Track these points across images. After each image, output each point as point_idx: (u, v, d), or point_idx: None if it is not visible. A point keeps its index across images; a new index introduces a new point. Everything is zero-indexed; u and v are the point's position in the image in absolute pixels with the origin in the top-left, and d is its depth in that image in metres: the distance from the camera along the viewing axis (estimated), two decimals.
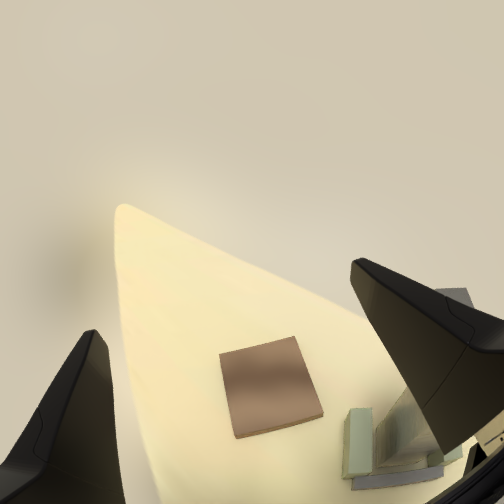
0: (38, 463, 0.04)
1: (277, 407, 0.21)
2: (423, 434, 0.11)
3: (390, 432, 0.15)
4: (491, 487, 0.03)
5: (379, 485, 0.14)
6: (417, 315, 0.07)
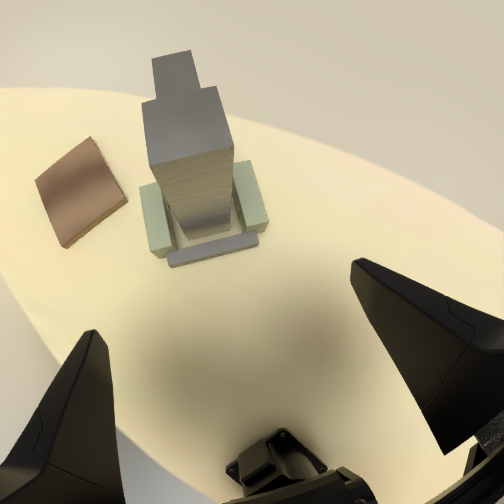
0: (38, 463, 0.04)
1: (86, 206, 0.22)
2: (171, 198, 0.15)
3: None
4: (491, 487, 0.03)
5: (191, 258, 0.22)
6: (417, 315, 0.07)
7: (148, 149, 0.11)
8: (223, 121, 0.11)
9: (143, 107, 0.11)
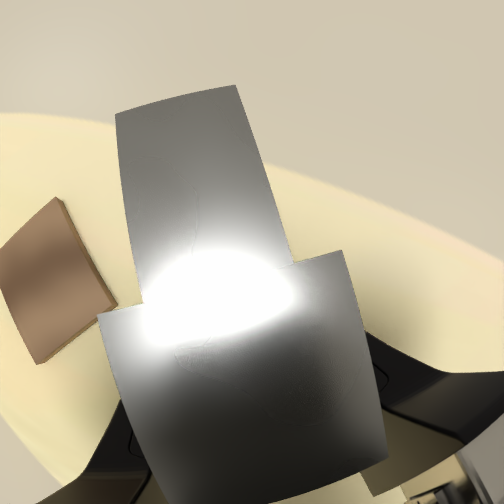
0: (140, 463, 0.04)
1: (59, 312, 0.14)
2: None
3: None
4: None
5: None
6: None
7: (162, 485, 0.03)
8: (369, 395, 0.04)
9: (106, 335, 0.03)
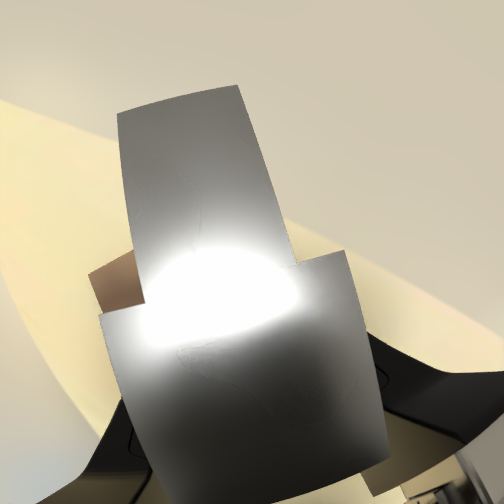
0: (140, 464, 0.04)
1: None
2: None
3: None
4: None
5: None
6: None
7: (164, 485, 0.03)
8: (371, 395, 0.04)
9: (108, 335, 0.03)
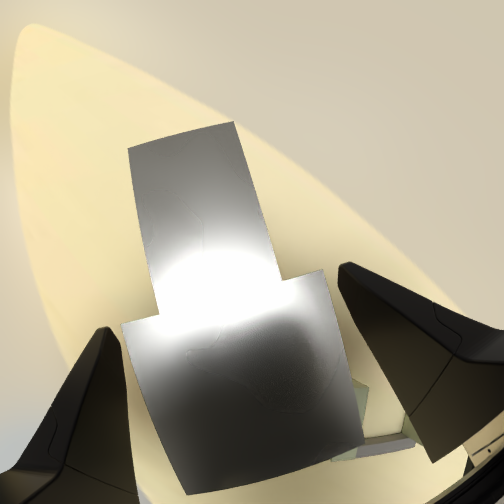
0: (53, 464, 0.04)
1: None
2: None
3: None
4: (491, 487, 0.03)
5: (356, 456, 0.16)
6: (402, 322, 0.07)
7: (174, 465, 0.04)
8: (346, 389, 0.05)
9: (129, 340, 0.04)
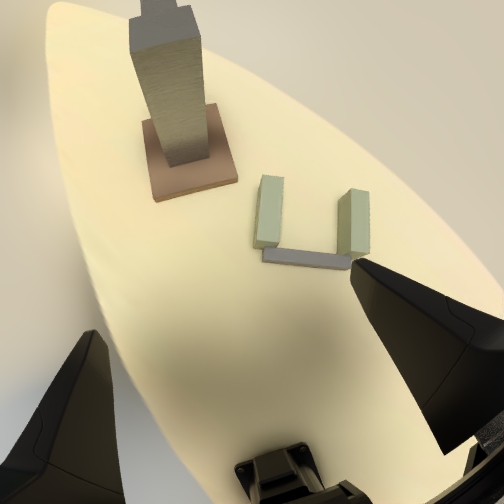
0: (37, 463, 0.04)
1: (194, 169, 0.24)
2: (149, 98, 0.14)
3: None
4: (490, 488, 0.03)
5: (287, 260, 0.23)
6: (417, 315, 0.07)
7: (130, 43, 0.11)
8: (193, 23, 0.11)
9: (130, 21, 0.11)
